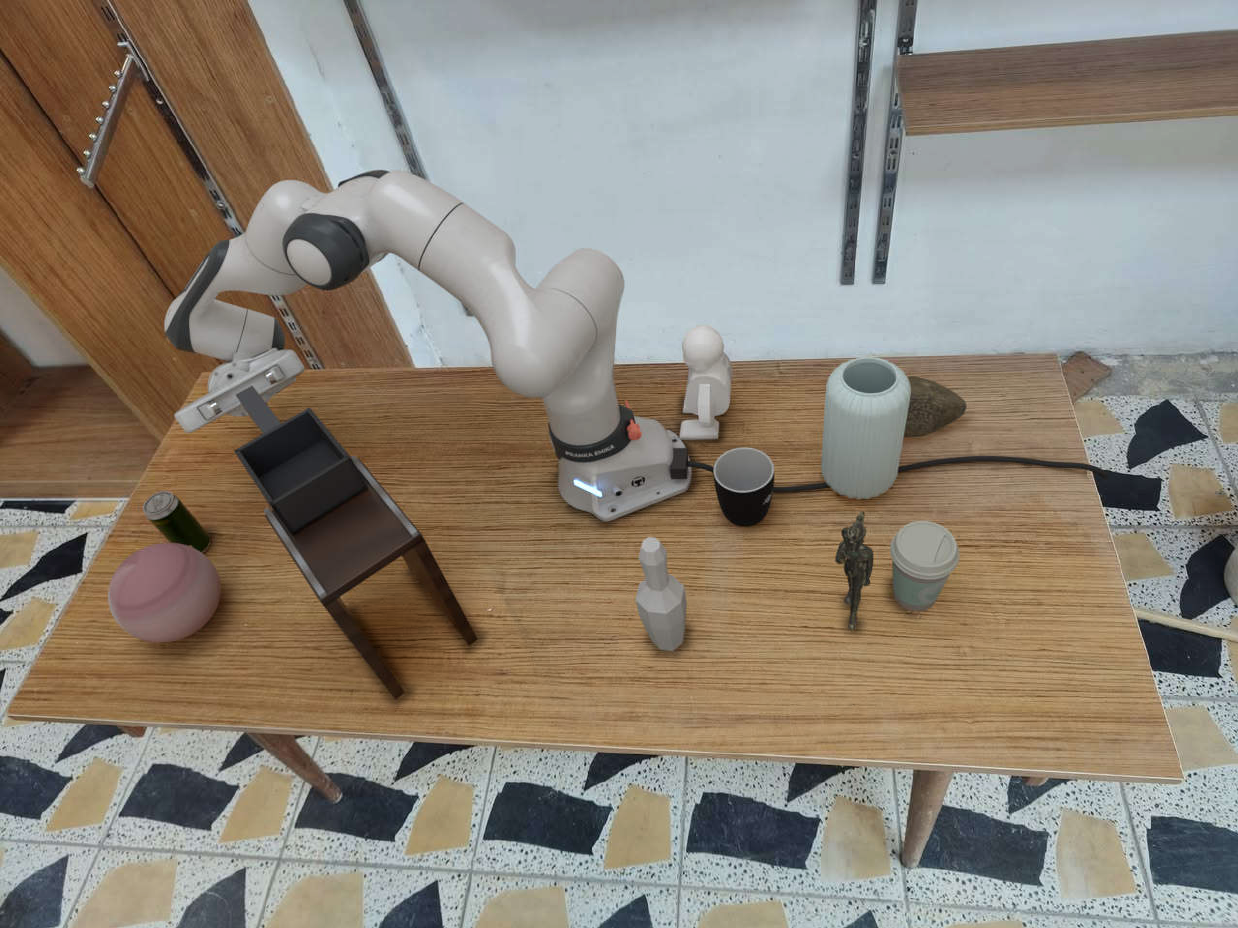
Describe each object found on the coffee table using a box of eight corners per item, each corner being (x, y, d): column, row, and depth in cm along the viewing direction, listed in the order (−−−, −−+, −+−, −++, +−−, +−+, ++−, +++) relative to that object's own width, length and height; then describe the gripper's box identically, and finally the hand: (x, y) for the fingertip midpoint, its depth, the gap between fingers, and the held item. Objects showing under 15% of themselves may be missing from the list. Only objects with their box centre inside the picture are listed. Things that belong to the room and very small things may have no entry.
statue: (828, 632, 112) (835, 547, 98) (832, 593, 116) (840, 506, 102) (863, 638, 111) (876, 552, 96) (866, 598, 115) (880, 511, 100)
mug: (770, 537, 124) (769, 495, 117) (712, 530, 127) (708, 488, 119) (780, 478, 132) (780, 435, 124) (725, 472, 134) (722, 430, 127)
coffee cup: (911, 630, 111) (922, 581, 102) (870, 586, 116) (877, 535, 107) (960, 601, 113) (976, 551, 104) (918, 558, 118) (929, 507, 109)
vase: (812, 498, 128) (818, 396, 112) (829, 446, 135) (836, 342, 118) (888, 514, 124) (905, 410, 108) (901, 459, 131) (919, 354, 114)
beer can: (212, 552, 139) (174, 508, 130) (181, 563, 138) (140, 520, 129) (212, 529, 142) (175, 485, 133) (181, 540, 141) (142, 496, 133)
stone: (951, 398, 138) (959, 363, 132) (969, 436, 132) (978, 400, 126) (850, 412, 139) (853, 377, 133) (863, 449, 133) (867, 415, 127)
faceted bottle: (676, 663, 112) (660, 574, 96) (637, 644, 115) (615, 554, 99) (698, 627, 116) (686, 535, 100) (660, 610, 119) (641, 517, 102)
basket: (368, 487, 107) (350, 456, 102) (291, 535, 103) (270, 505, 99) (297, 400, 121) (279, 369, 116) (227, 439, 117) (206, 409, 113)
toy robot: (685, 391, 148) (675, 302, 133) (735, 391, 146) (730, 301, 132) (677, 448, 139) (666, 359, 125) (730, 448, 137) (725, 359, 123)
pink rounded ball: (143, 602, 133) (86, 548, 122) (233, 564, 136) (186, 508, 125) (145, 676, 124) (84, 625, 113) (243, 634, 126) (192, 580, 115)
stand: (478, 639, 120) (419, 529, 100) (395, 699, 115) (316, 597, 95) (419, 566, 130) (356, 453, 111) (342, 618, 126) (261, 511, 106)
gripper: (166, 404, 130) (164, 410, 118) (283, 342, 137) (292, 342, 125) (190, 438, 132) (190, 447, 120) (304, 375, 139) (315, 378, 127)
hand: (244, 393), depth 123 cm, fingers open, 8 cm apart
